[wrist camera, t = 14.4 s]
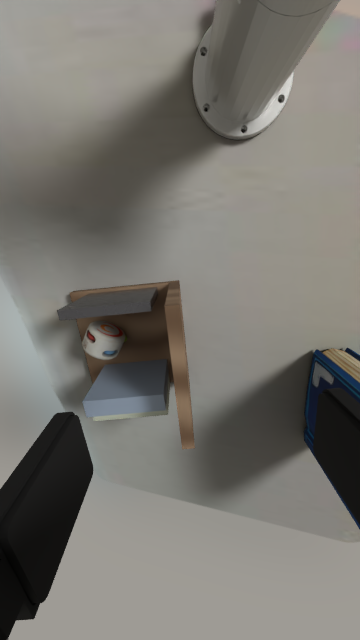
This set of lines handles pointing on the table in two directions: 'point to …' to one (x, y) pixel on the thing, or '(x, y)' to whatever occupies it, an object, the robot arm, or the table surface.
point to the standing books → (129, 391)
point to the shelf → (151, 343)
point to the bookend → (110, 303)
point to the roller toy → (103, 340)
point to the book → (330, 387)
